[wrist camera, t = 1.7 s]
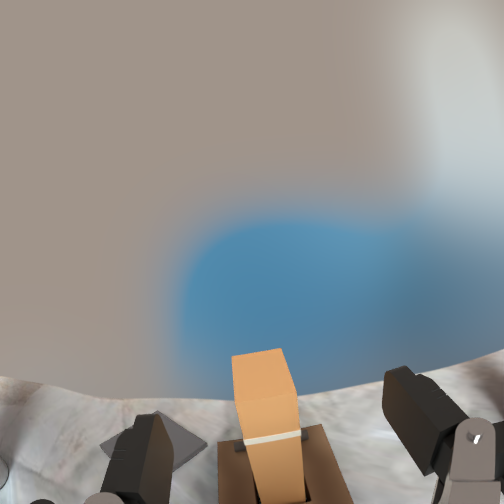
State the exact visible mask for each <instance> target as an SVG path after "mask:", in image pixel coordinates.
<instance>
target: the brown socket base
mask: <svg viewBox="0 0 504 504" xmlns="http://www.w3.org/2000/svg"><path fill="white" fill-rule="evenodd" d="M217 443H218V493H219V504H259V499H258V492H257V486H256V483H255V479H254V475H253V472H252V468H251V464H250V460H249V457H248V453H247V449H246V445H245V444H244V441H243V439H239V440H231V441H223V442H217ZM301 447H302V459H303V472H304V486H305V494H306V497H307V501H308V502H305V503H300V504H354V503H353V501H352V498H351V496H350V493H349V491H348V488H347V486H346V483H345V481H344V479H343V476H342V474H341V471H340V469H339V466H338V464H337V461H336V459H335V456H334V454H333V451H332V449H331V447H330V444H329V442H328V439H327V437H326V434H325V432H324V429H323V427H322V424H319V425H315V426H310V427H306V428H301Z"/></svg>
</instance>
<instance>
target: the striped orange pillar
mask: <svg viewBox="0 0 504 504" xmlns="http://www.w3.org/2000/svg"><path fill="white" fill-rule="evenodd" d="M232 368H233V382H234V397H235V405H236V409H237V413H238V417H239V421H240V425H241V429H242V433H243V441H244V444H245V445H246V449H247V453H248V457H249V460H250V464H251V468H252V472H253V475H254V479H255V483H256V486H257V490H258V493H259V497H260V500H261V504H300V503H305V502H306V500H305V486H304V472H303V459H302V447H301V429H300V424H299V413H298V402H297V392H296V389H295V386H294V384H293V381H292V378H291V375H290V373H289V370H288V366H287V364H286V361H285V358H284V355H283V352H282V349H281V348H279V349H273V350H267V351H262V352H256V353H251V354H244V355H238V356H232Z"/></svg>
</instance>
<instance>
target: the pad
mask: <svg viewBox="0 0 504 504" xmlns="http://www.w3.org/2000/svg"><path fill="white" fill-rule="evenodd" d="M153 414H159V415H160V417H161V419H162V421H163V424H164V426H165V428H166V431H167V433H168V435H169V438H170V440H171V442H172V445H173V449H174V463H173V471H175V470H176V469H178V468H179V467H180V466H182V465H183V464H184V463H186V462H187V461H189V460H190V459H191V458H193V457H194V456H195V455H197V454H198V453H199V452H201V451H202V450H203V449H205V448H206V447H207V443H206V442H205V441H203V440H202V439H200V438H198V437H197V436H195V435H193V434H192V433H190V432H189V431H187V430H186V429H184V428H183V427H181V426H180V425H178V424H177V423H175V422H174V421H172V420H171V419H169V418H168V417H166V416H165V415H163V414H162V413H160V412H159V411H158V410H157V411H156V412H154V413H153ZM132 428H133V426H131V427H129V428H128V429H132ZM122 433H123V432H121V433H119V434H117V435H116V436H114V437H112V438H111V439H109V440H107V441H105V442H104V443H102V444H100V447H101V448H102V450H103V451H104V452H105V453H106V454H107V455H108V456H109V458H110V459H111V456H112V453H113V451H114V447H115V444H116V441H117V438H118V437H119V436H120V435H121V434H122ZM173 471H172V472H173Z"/></svg>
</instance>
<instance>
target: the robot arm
mask: <svg viewBox="0 0 504 504" xmlns="http://www.w3.org/2000/svg"><path fill="white" fill-rule="evenodd" d="M382 409H383V413H384V416H385V418H386V419H387V421H388V422H389V424H390V425H391V427H392V428H393V430H394V431H395V433H396V434H397V436H398V437H399V439H400V440H401V442H402V443H403V445H404V446H405V448H406V449H407V451H408V452H409V454H410V455H411V457H412V459H413V460H414V462H415V463H416V465H417V466H418V468H419V469H420V471H421V472H422V474H423V475H424V477H425V476H427V475H429V474H431V473H433V472H435V473H436V474H437V475H438V478H437V480H436V484H435V489H434V493H433V497H432V501H431V504H499V503H500V492H502V493H503V495H504V421H502V422H498V423H494V424H491V423H490V422H489V421H487V420H485V419H482V418H469V417H468V416H467V415H466V414H465V413H464V412H463V411H462V410H461V409H460V407H459V406H458V405H457V404H456V403H455V402H454V401H453V400H452V399H451V398H450V397H449V396H448V395H447V396H446V393H445V392H444V391H443V390H442V389H440V387H439V386H438V385H437V384H436V383H435V382H434V381H433V380H432V379H430V378H428V377H426V376H424V375H422V374H418V375H415V374H414V373H413V372H412V371H411V370H410V369H409V368H408V367H407V366H401V367H399V368H395V369H392V370H389V371H387V372H386V373H385V376H384V386H383V397H382ZM173 463H174V449H173V445H172V442H171V440H170V438H169V435H168V433H167V431H166V428H165V426H164V424H163V421H162V419H161V417H160V415H159V414H145V415H137V416H136V419H135V422H134V425H133V428H132V429H125V430H124V431H123V433H122V434H121V435H120V436H119V437H118V438H117V441H116V444H115V447H114V451H113V453H112V456H111V460H110V462H109V465H108V468H107V471H106V474H105V478H104V481H103V484H102V487H101V490H100V493H97V494H94V495H92V496H90V497H89V498H88V499H87V500H86V501H85V502H84V504H169V498H170V489H171V480H172V471H173ZM7 476H8V468H7V465H6V463H5V462H4V460H3V459H2V458H1V456H0V488H1V487H2V486H3V485H4V483H5V481H6V479H7ZM30 504H54V503H53V502H52V501H50V500H46V499H40V500H36V501H34V502H32V503H30Z"/></svg>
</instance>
